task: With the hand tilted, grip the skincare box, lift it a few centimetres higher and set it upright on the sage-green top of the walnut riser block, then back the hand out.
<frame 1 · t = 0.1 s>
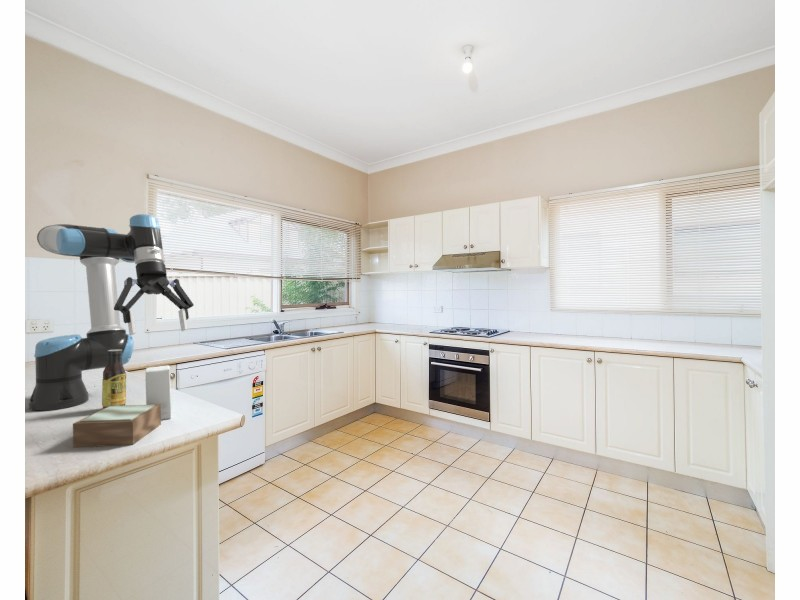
hand: (159, 332, 107), 28 cm above the counter, tool tilted 20°, fingers open, 13 cm apart
skincare box: (158, 417, 115), on the counter
riser: (120, 435, 100), on the counter
sauce bottle: (114, 409, 121), on the counter
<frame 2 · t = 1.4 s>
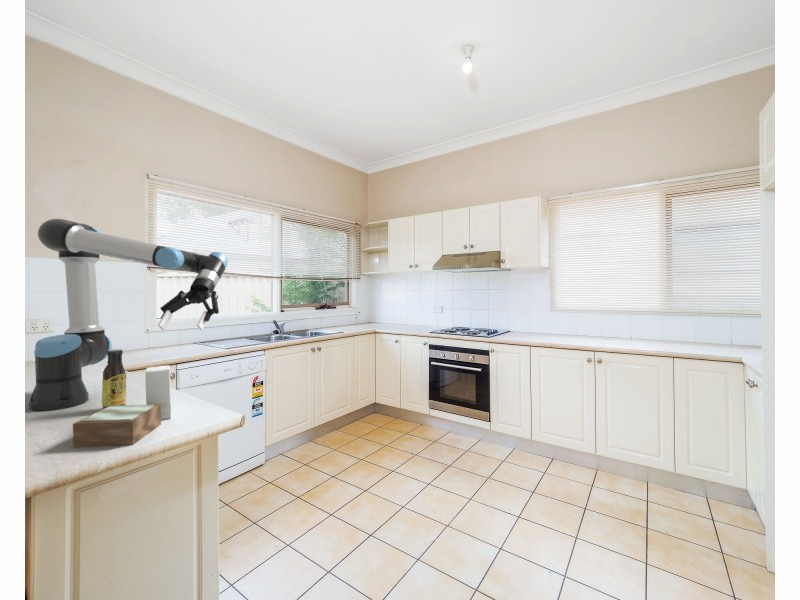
hand: (179, 327, 124), 27 cm above the counter, tool tilted 45°, fingers open, 13 cm apart
nothing on the counter moved.
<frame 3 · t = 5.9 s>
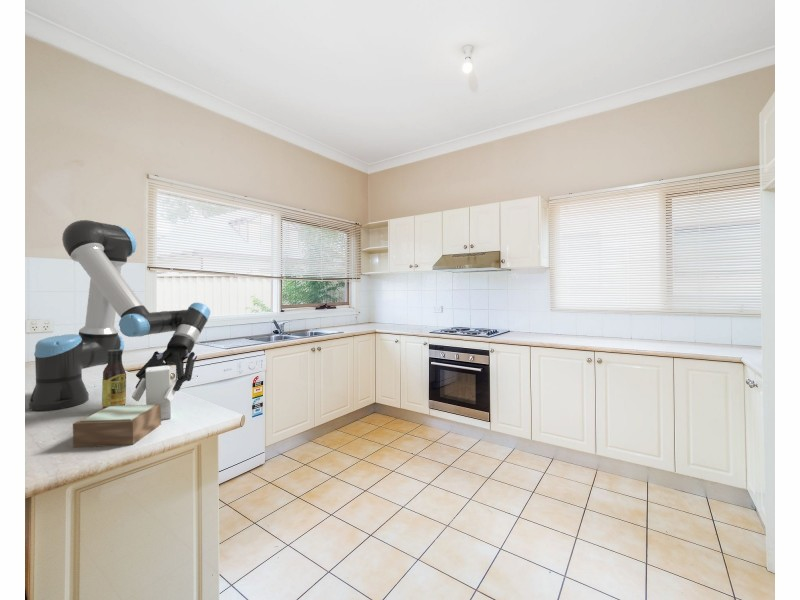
hand: (151, 399, 111), 7 cm above the counter, tool tilted 45°, fingers closed on skincare box, 10 cm apart
skincare box: (158, 417, 115), on the counter, touching gripper
everything else where it was.
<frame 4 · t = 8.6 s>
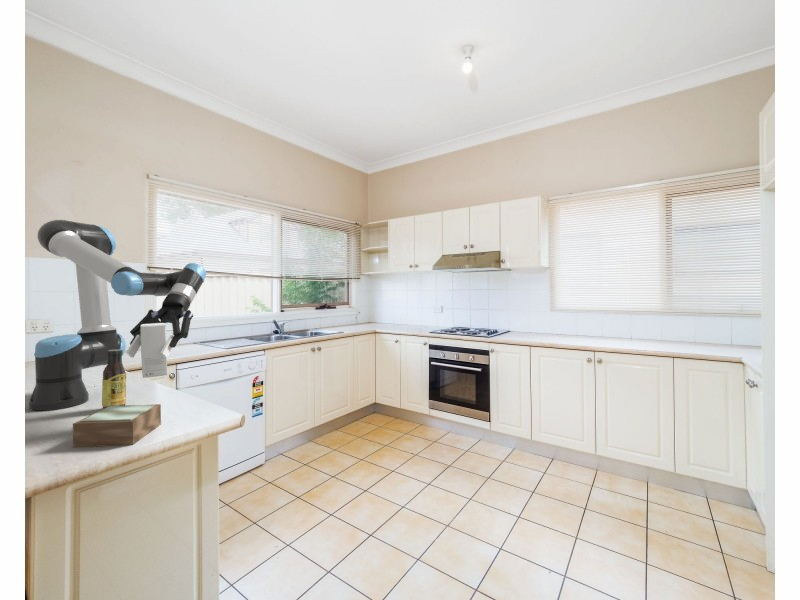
hand: (146, 355, 108), 21 cm above the counter, tool tilted 45°, fingers closed on skincare box, 10 cm apart
skincare box: (154, 374, 112), point 14 cm above the counter, touching gripper
everything else where it was.
when the fingers open (14 cm above the counter, at t = 11.4 s): skincare box drops 1 cm, resting on riser.
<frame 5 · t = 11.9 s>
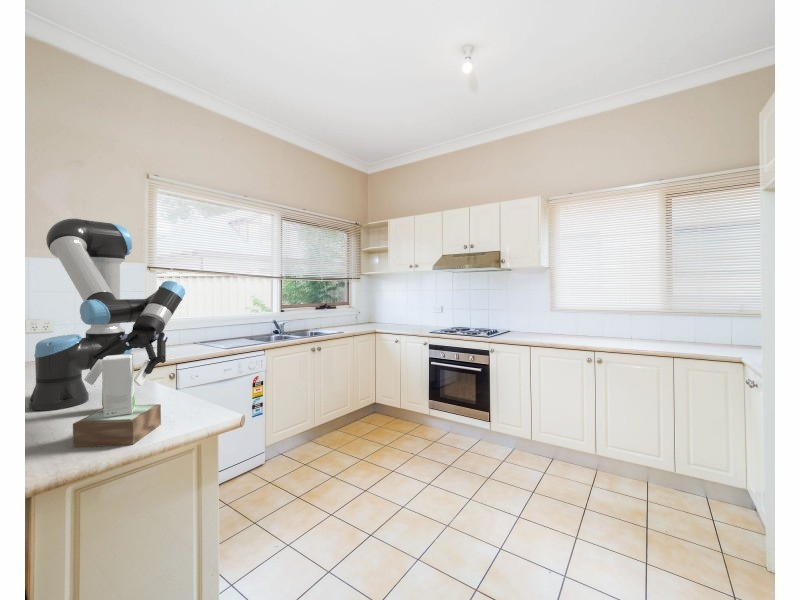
hand: (112, 382, 98), 15 cm above the counter, tool tilted 45°, fingers open, 13 cm apart
skincare box: (119, 412, 100), point 6 cm above the counter, touching riser
everything else where it was.
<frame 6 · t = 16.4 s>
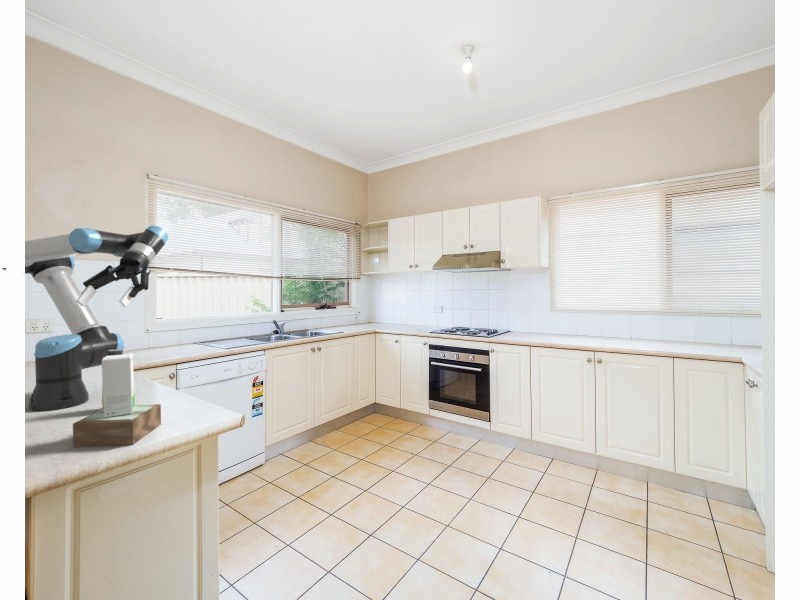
hand: (101, 303, 112), 36 cm above the counter, tool tilted 45°, fingers open, 13 cm apart
nothing on the counter moved.
at the end: skincare box inside the target area on the riser (0.4 cm from its centre), point 6.2 cm above the riser's base; skincare box tilted 0°; the gripper is holding nothing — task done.
